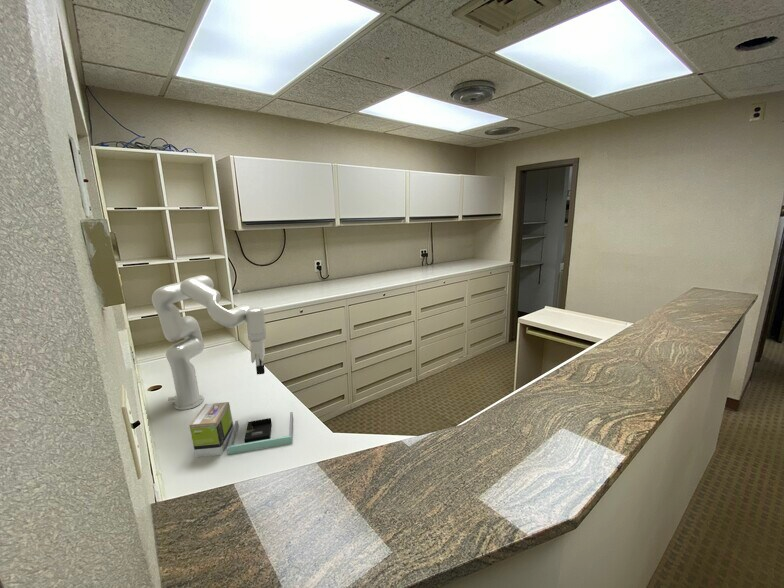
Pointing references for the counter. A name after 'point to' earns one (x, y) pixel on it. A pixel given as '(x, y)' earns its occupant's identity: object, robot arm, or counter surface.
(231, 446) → the dock
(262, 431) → the battery charger
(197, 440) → the tea box
